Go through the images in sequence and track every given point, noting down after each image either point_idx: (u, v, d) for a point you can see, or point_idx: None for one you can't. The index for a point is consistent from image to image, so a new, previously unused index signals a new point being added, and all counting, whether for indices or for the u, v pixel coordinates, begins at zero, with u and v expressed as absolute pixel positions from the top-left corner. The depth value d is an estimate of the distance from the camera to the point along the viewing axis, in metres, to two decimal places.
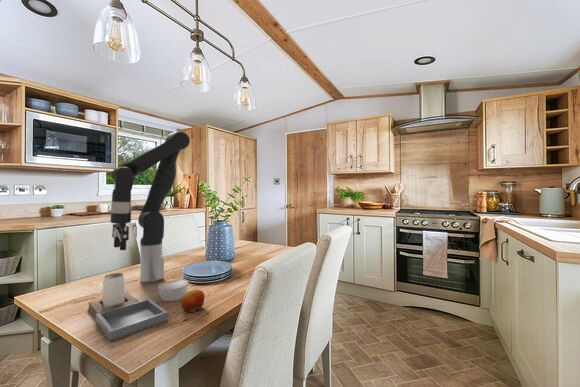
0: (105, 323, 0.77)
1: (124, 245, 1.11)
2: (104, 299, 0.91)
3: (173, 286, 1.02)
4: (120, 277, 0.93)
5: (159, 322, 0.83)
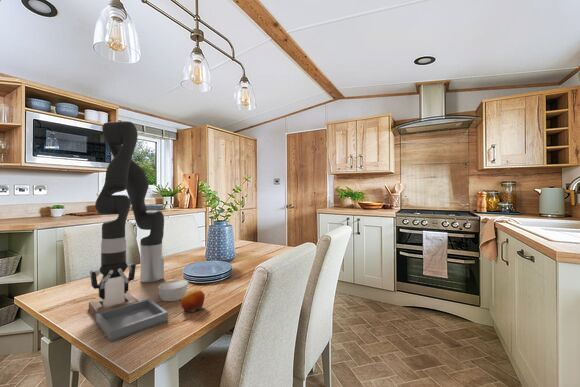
0: (105, 323, 0.77)
1: None
2: (104, 299, 0.91)
3: (173, 286, 1.02)
4: (120, 277, 0.93)
5: (159, 322, 0.83)
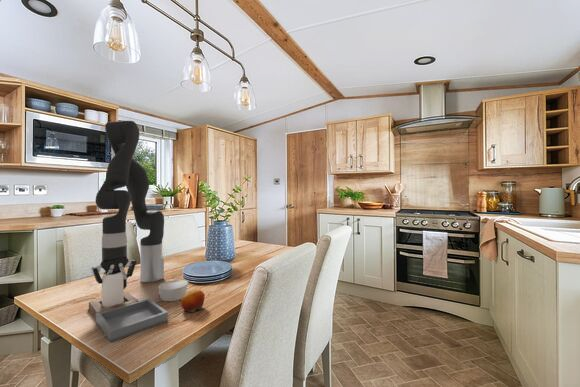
0: (105, 323, 0.77)
1: None
2: (104, 296, 0.90)
3: (173, 286, 1.02)
4: (120, 274, 0.93)
5: (159, 322, 0.83)
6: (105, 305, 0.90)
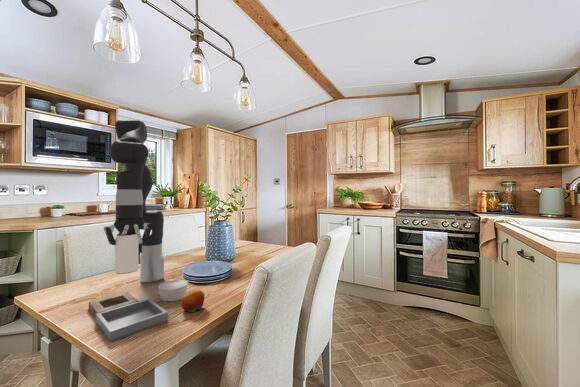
0: (105, 323, 0.77)
1: None
2: (117, 259, 0.80)
3: (173, 286, 1.02)
4: (135, 236, 0.83)
5: (159, 322, 0.83)
6: (118, 270, 0.80)
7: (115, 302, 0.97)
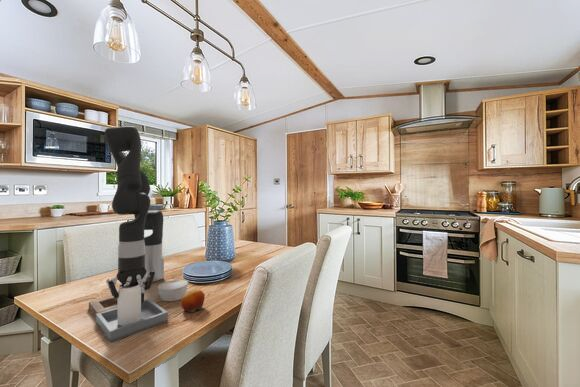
0: (105, 323, 0.77)
1: None
2: (120, 312, 0.80)
3: (173, 286, 1.02)
4: (137, 286, 0.83)
5: (159, 322, 0.83)
6: (121, 322, 0.80)
7: (115, 302, 0.97)
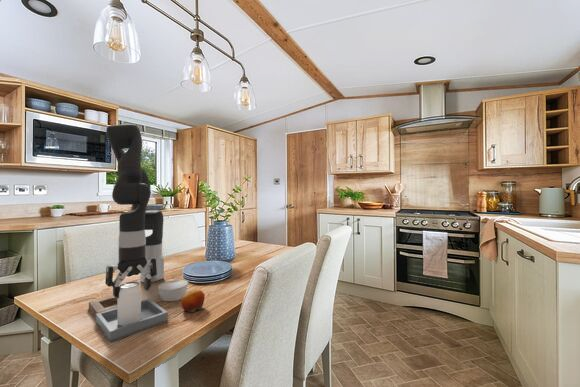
0: (105, 323, 0.77)
1: None
2: (120, 312, 0.80)
3: (173, 286, 1.02)
4: (137, 286, 0.83)
5: (159, 322, 0.83)
6: (121, 322, 0.80)
7: (115, 302, 0.97)
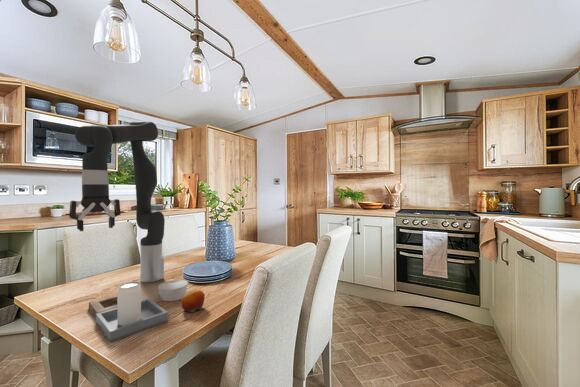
0: (105, 323, 0.77)
1: None
2: (120, 312, 0.80)
3: (173, 286, 1.02)
4: (137, 286, 0.83)
5: (159, 322, 0.83)
6: (121, 322, 0.80)
7: (115, 302, 0.97)
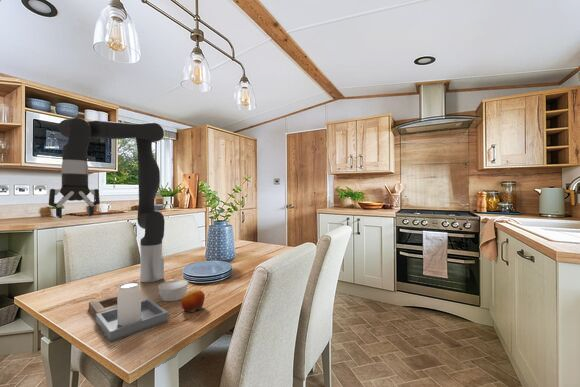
0: (105, 323, 0.77)
1: None
2: (120, 312, 0.80)
3: (173, 286, 1.02)
4: (137, 286, 0.83)
5: (159, 322, 0.83)
6: (121, 322, 0.80)
7: (115, 302, 0.97)
